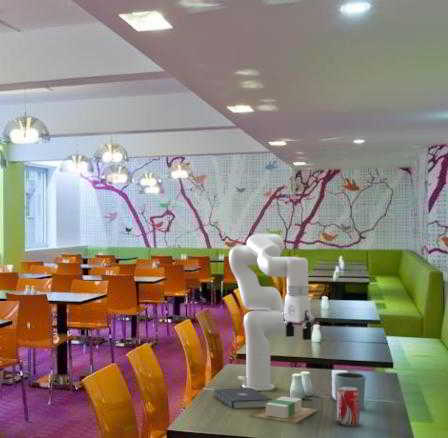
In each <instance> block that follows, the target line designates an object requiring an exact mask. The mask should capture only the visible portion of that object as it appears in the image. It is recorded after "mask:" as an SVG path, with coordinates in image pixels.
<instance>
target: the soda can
mask: <svg viewBox="0 0 448 438" xmlns="http://www.w3.org/2000/svg"><path fill="white" fill-rule="evenodd" d="M336 419H337V423H339V424H340V425H342V426H345V427H354V426H357V425H358V424H360V409H359V393H358V391H357V388H354V387H347V386H343V387H339V390H338V392H337V400H336Z"/></svg>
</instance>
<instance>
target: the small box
mask: <svg viewBox="0 0 448 438" xmlns="http://www.w3.org/2000/svg"><path fill="white" fill-rule="evenodd" d="M343 372H349V371H348V370H344V369H331V396H332V398H333V399H334V400H335V401H337V380H336V374H337V373H343Z"/></svg>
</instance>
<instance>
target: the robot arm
mask: <svg viewBox="0 0 448 438" xmlns="http://www.w3.org/2000/svg"><path fill="white" fill-rule="evenodd" d="M284 248H285V242H284V239H283V237H282V236H281V235H279V234H278V233H254V234H252V235H251V236H249V237H248V238H247V240H246V244H241V245H236V246H233V247H232V248H231V249H230V250H229V253H228V263H229V267H230V269H231V272H232V274H233V276H234V278H235V280H236V283H237V287H238V291H239V295H240V298H241V302H242V305H243V307H244V308H245V309H247V310H251V311H249V312H246V313H245V315H244V317H243V327H244V332H245V342H246V344H245V349H246V351H245V353H246V355H245V359H246V361H245V362H246V363H245V364H246V369H245V372H246V373H245V374H246V375H244V376H243V375H237V377H236V378H237V381H238V382H243V383H242V388H252V389H254V390H256V391H258V392H264V391H266V392H267V391H273V390H275V385H274V384H271V381H272V380H271V379H272V378H271V377H272V376H271V343H270V341H269V340H268V339H267V337H266V335H274V334H275V335H276V334H283V333H285V337H288V338H289V337H290V338H292V337H295V325H294V323H296V324H300V323H301V325H302V327H303V328H302V340H303V341H307V340H309V341H310V340H312V328H313V326H314V322H315V319H316V317H315V316H314V315H313V314H312V311H311V301H310V297H309V261H308V259H307V258H306V257H298V256H281V254H282V252H284ZM249 266H258V268H259V270H260V271H261V272H262V273H263V274H265V275H266V276H267V277H271V278H281V277H286V294H285V299H284V303H283V299H282V295H281V293H280V291H279V290H278V289H277V288H276V287H275V286H262V285H261V284H260V282H259V278H258V276H257V274H256V273H255V272H254V270H252V269H251V268H250V267H249Z"/></svg>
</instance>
